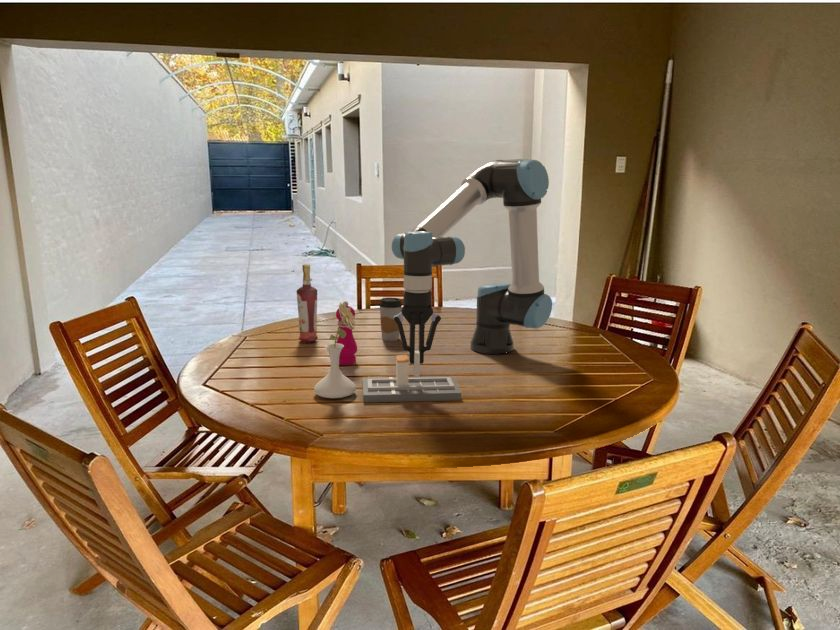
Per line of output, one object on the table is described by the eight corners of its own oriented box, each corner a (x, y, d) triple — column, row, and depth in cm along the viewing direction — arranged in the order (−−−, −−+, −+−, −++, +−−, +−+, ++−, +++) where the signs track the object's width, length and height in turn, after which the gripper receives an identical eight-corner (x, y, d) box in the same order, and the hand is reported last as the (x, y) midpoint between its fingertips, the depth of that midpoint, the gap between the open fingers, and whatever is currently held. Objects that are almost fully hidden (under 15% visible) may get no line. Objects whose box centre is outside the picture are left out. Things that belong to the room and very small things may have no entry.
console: (452, 382, 167) (452, 373, 167) (461, 399, 154) (461, 390, 153) (362, 384, 164) (362, 375, 164) (363, 402, 151) (363, 392, 150)
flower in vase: (337, 405, 148) (336, 310, 143) (305, 396, 154) (302, 305, 149) (368, 391, 159) (368, 302, 154) (336, 383, 165) (335, 297, 160)
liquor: (321, 342, 208) (320, 265, 202) (302, 345, 204) (300, 266, 198) (313, 338, 214) (311, 263, 208) (294, 340, 210) (292, 264, 204)
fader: (406, 381, 161) (407, 355, 159) (408, 387, 156) (408, 360, 154) (396, 381, 160) (396, 355, 159) (397, 387, 156) (397, 360, 154)
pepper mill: (353, 366, 181) (352, 304, 177) (331, 364, 182) (330, 302, 178) (360, 359, 188) (359, 299, 183) (339, 358, 189) (338, 298, 185)
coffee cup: (405, 337, 216) (405, 298, 213) (395, 343, 209) (395, 302, 205) (385, 335, 219) (386, 296, 216) (375, 340, 212) (375, 300, 209)
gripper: (439, 287, 157) (437, 370, 162) (392, 287, 156) (391, 371, 161) (443, 292, 150) (441, 378, 155) (394, 292, 148) (393, 379, 154)
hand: (416, 374), depth 158 cm, fingers closed
